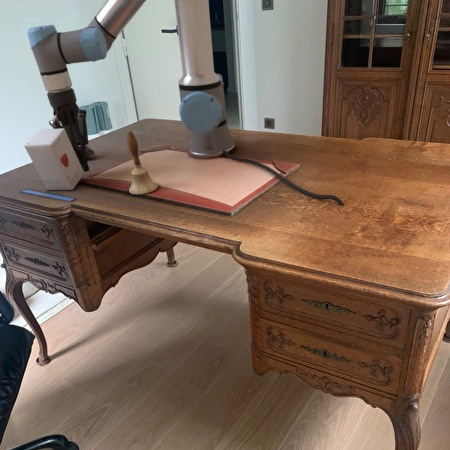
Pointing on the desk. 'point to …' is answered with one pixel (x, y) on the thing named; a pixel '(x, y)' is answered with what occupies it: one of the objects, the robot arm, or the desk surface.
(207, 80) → the robot arm
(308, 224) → the desk surface
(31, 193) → the tape line
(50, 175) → the rectangular carton
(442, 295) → the desk surface
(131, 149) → the hand bell
